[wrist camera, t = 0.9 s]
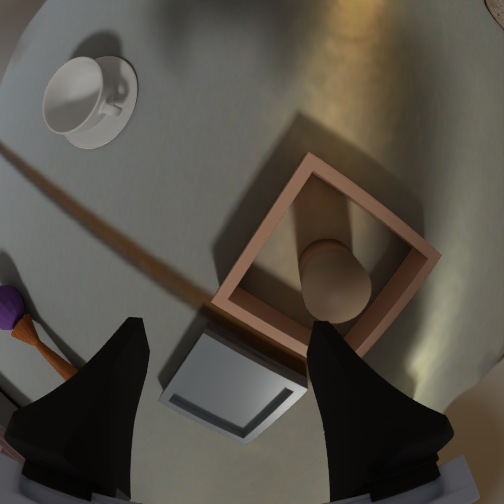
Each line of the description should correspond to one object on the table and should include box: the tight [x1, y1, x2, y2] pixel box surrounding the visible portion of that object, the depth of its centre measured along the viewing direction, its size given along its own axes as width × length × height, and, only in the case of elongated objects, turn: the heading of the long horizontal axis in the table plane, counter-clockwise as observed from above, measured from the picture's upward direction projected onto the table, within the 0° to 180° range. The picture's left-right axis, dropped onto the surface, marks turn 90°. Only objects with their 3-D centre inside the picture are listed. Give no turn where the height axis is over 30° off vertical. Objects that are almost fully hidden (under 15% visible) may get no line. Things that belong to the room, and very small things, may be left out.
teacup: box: [42, 56, 138, 149], centre depth 22 cm, size 10×10×5 cm
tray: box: [158, 323, 308, 445], centre depth 30 cm, size 12×12×2 cm
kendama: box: [0, 285, 79, 381], centre depth 30 cm, size 6×6×20 cm
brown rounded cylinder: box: [298, 239, 371, 323], centre depth 23 cm, size 5×5×6 cm
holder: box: [211, 152, 442, 358], centre depth 24 cm, size 14×14×4 cm
